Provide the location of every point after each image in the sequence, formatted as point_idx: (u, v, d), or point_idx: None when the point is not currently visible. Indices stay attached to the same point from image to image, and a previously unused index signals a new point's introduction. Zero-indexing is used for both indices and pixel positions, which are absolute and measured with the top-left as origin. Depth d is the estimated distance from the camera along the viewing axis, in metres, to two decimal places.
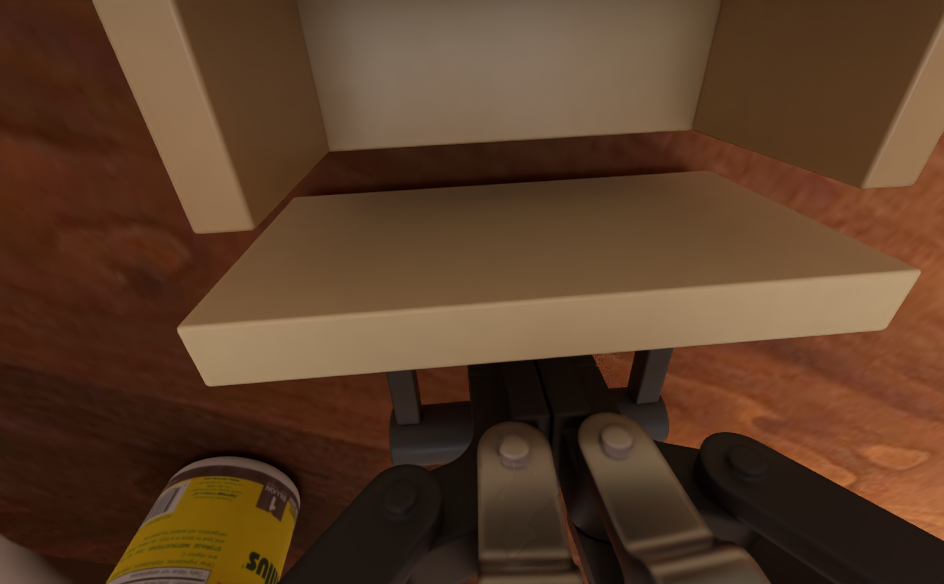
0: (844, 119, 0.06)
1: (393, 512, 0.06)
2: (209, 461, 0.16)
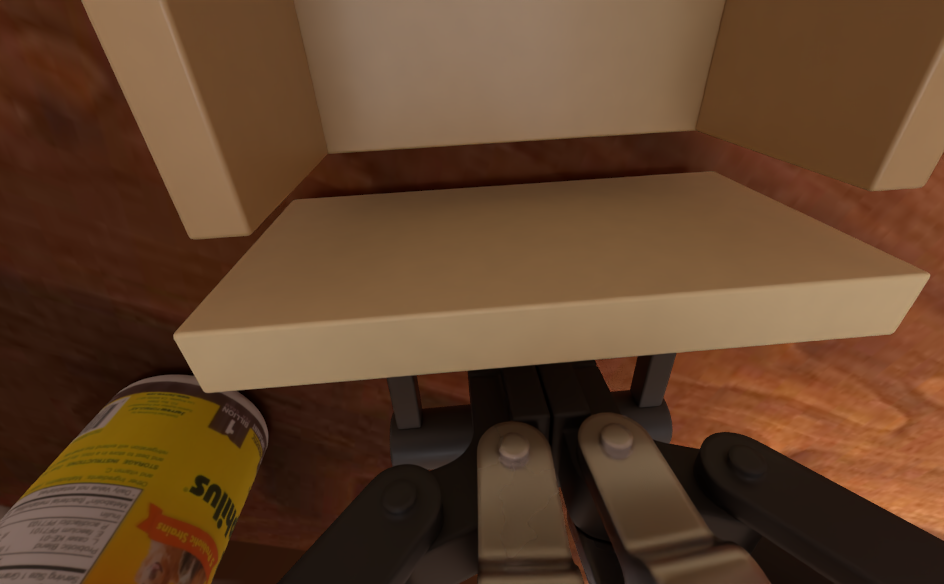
0: (852, 120, 0.06)
1: (393, 512, 0.06)
2: (155, 377, 0.14)
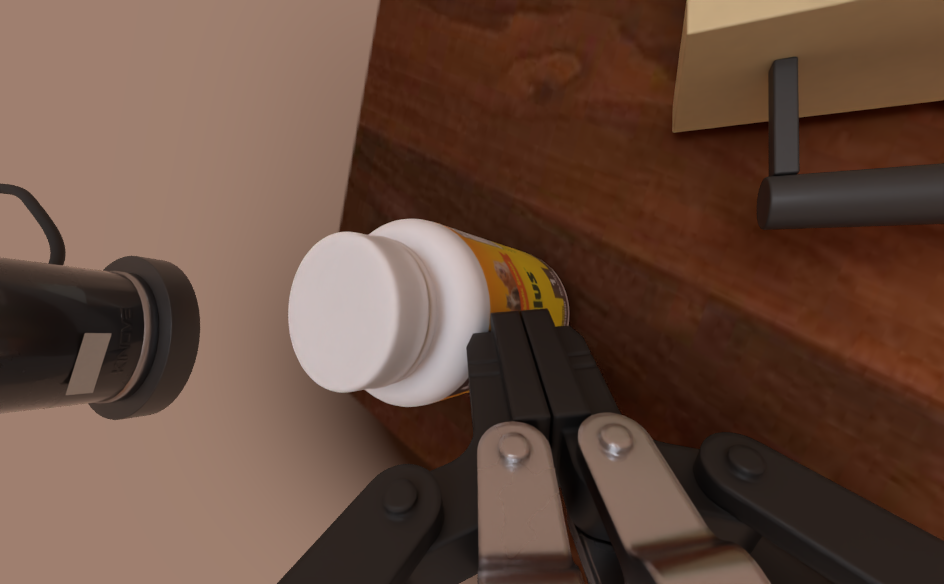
0: None
1: (393, 512, 0.06)
2: None
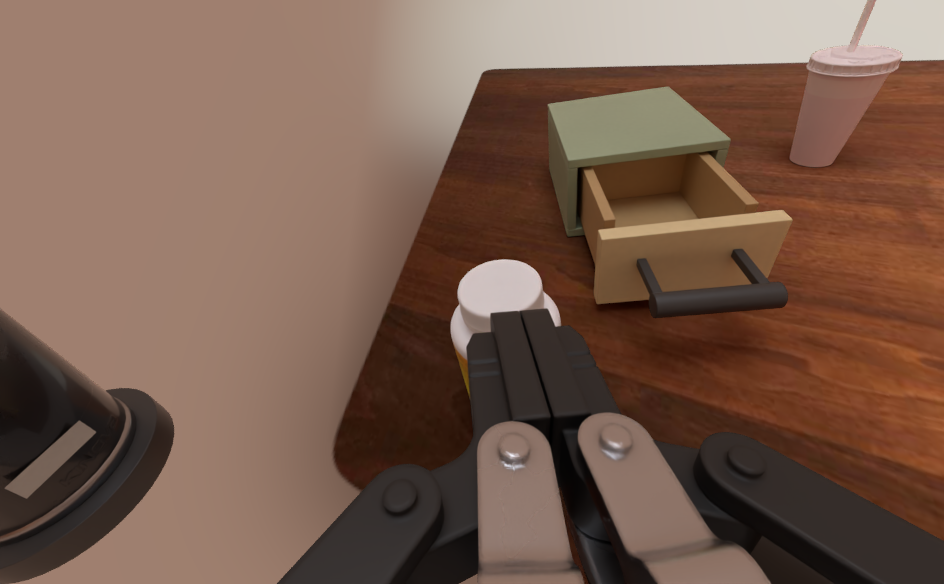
0: (737, 207, 0.28)
1: (393, 512, 0.06)
2: None
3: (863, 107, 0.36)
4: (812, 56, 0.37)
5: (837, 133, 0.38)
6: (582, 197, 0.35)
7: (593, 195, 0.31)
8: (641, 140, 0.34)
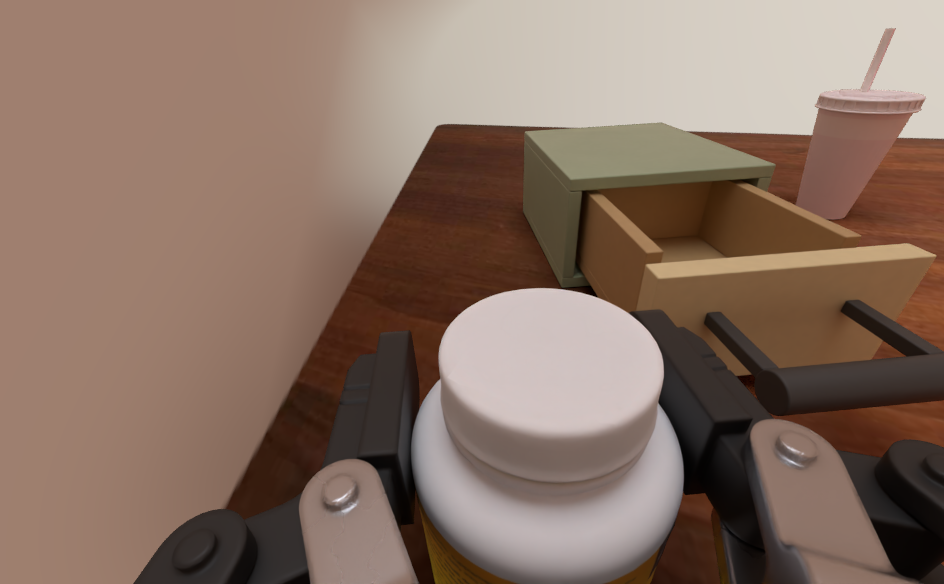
0: (824, 243, 0.19)
1: (188, 568, 0.05)
2: None
3: (884, 151, 0.32)
4: (823, 95, 0.33)
5: (856, 180, 0.33)
6: (585, 233, 0.26)
7: (615, 222, 0.21)
8: (660, 162, 0.26)
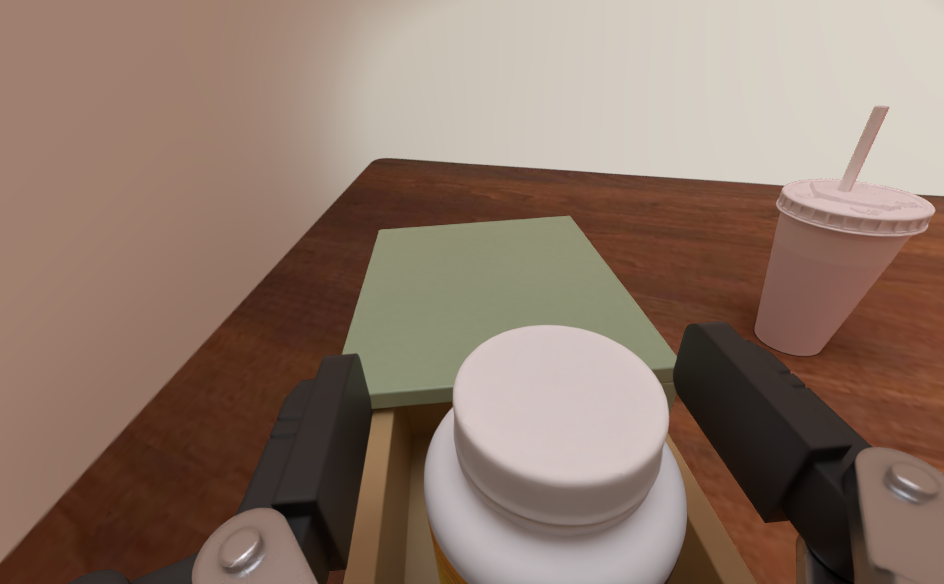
0: None
1: None
2: None
3: (874, 279, 0.22)
4: (786, 192, 0.23)
5: (833, 313, 0.23)
6: None
7: (353, 531, 0.11)
8: None
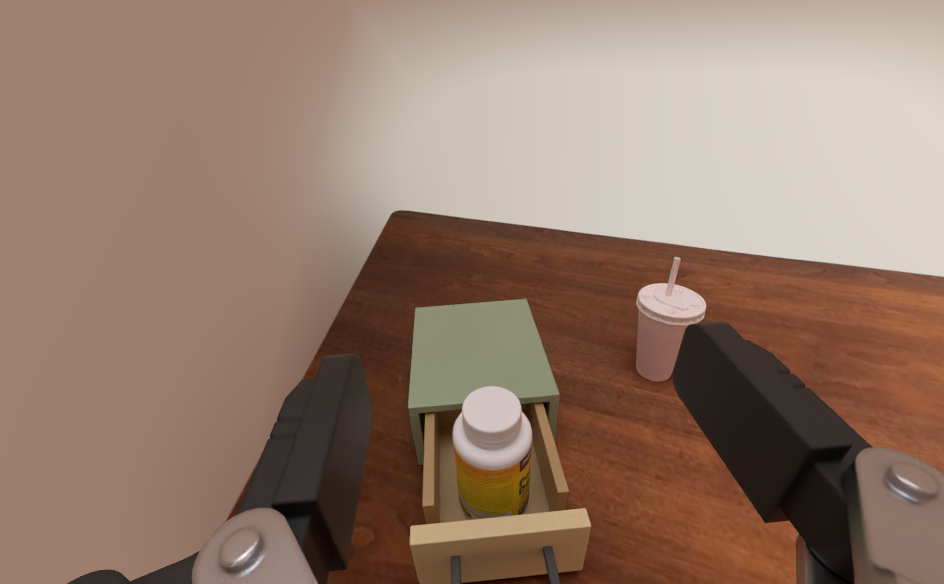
0: (554, 487, 0.28)
1: None
2: None
3: None
4: (639, 294, 0.42)
5: (666, 359, 0.42)
6: None
7: (424, 458, 0.30)
8: (482, 383, 0.35)
